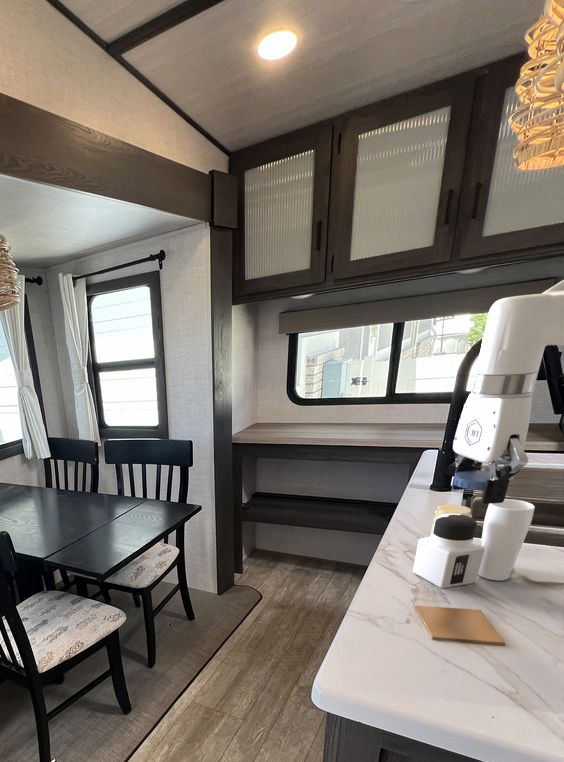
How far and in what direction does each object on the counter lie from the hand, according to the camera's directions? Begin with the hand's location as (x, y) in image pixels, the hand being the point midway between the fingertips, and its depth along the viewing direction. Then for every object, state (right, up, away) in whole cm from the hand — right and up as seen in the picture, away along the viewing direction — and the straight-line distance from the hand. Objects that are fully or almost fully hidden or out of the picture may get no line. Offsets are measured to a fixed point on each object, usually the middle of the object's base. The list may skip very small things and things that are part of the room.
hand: (476, 494), depth 79 cm
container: (+5, -15, +15) cm, 22 cm away
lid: (0, +3, -1) cm, 3 cm away
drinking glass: (+14, -15, +14) cm, 25 cm away
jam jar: (+14, -9, +27) cm, 32 cm away
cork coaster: (-3, -22, 0) cm, 22 cm away
